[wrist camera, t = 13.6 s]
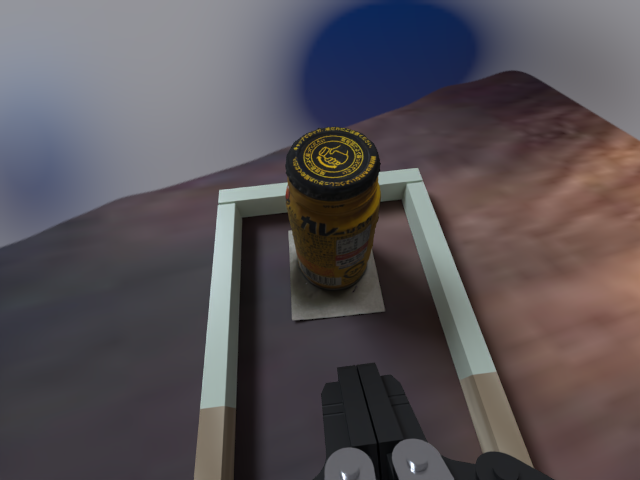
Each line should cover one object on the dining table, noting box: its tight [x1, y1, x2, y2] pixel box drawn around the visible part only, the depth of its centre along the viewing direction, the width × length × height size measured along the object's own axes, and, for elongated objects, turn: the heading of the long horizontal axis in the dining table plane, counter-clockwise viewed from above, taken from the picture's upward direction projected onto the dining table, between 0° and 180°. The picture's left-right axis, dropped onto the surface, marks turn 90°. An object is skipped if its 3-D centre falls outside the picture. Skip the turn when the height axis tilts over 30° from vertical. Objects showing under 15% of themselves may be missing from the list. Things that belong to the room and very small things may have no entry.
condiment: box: [285, 127, 385, 320], centre depth 21 cm, size 7×8×12 cm
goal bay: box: [200, 168, 497, 409], centre depth 25 cm, size 18×18×2 cm
